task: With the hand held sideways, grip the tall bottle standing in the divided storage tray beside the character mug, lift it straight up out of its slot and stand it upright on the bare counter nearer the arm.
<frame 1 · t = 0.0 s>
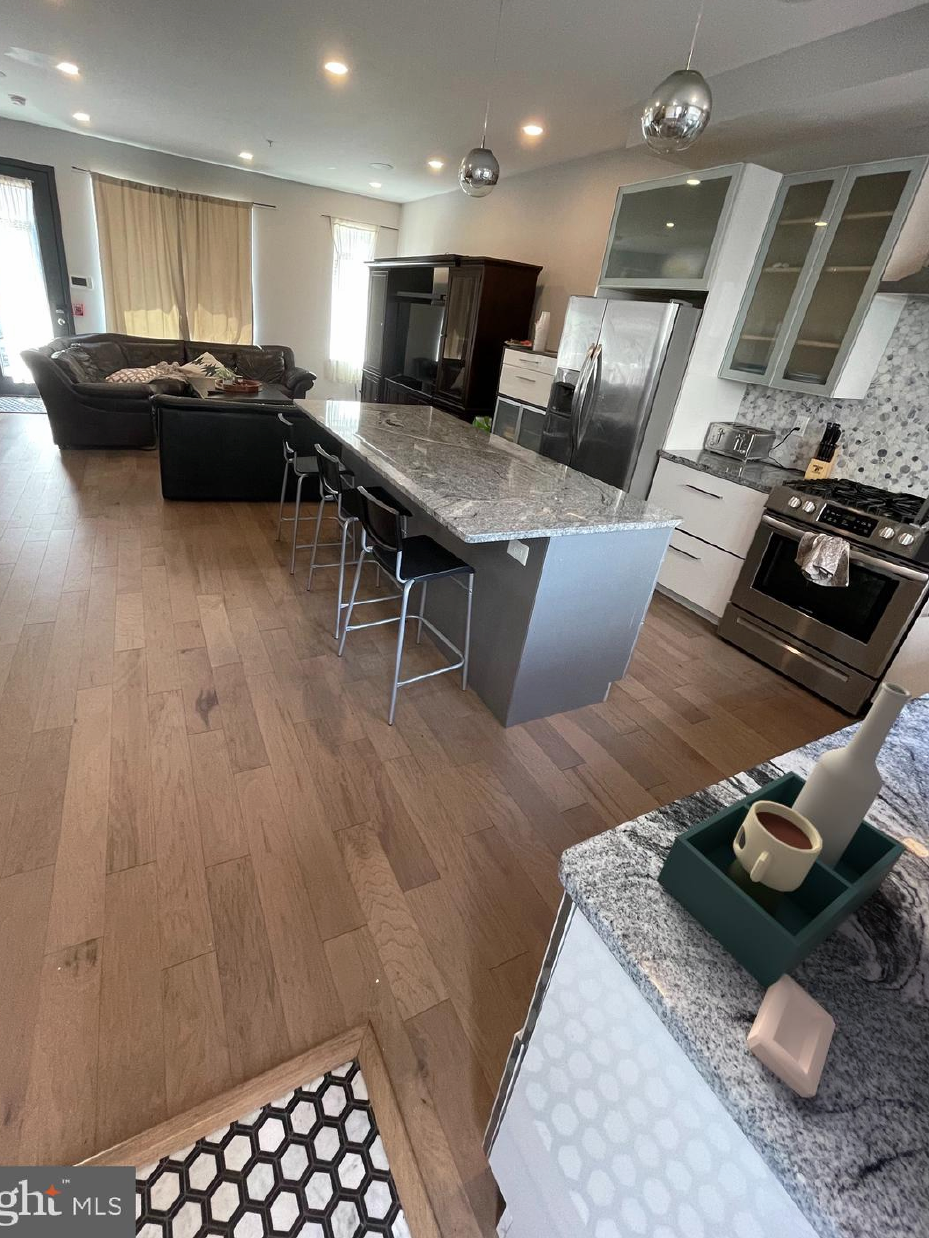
divided storage tray: (770, 884, 70), on the counter
character mug: (742, 904, 66), resting on divided storage tray
soap bar: (782, 1037, 54), on the counter, touching divided storage tray
bottle: (797, 863, 73), resting on divided storage tray
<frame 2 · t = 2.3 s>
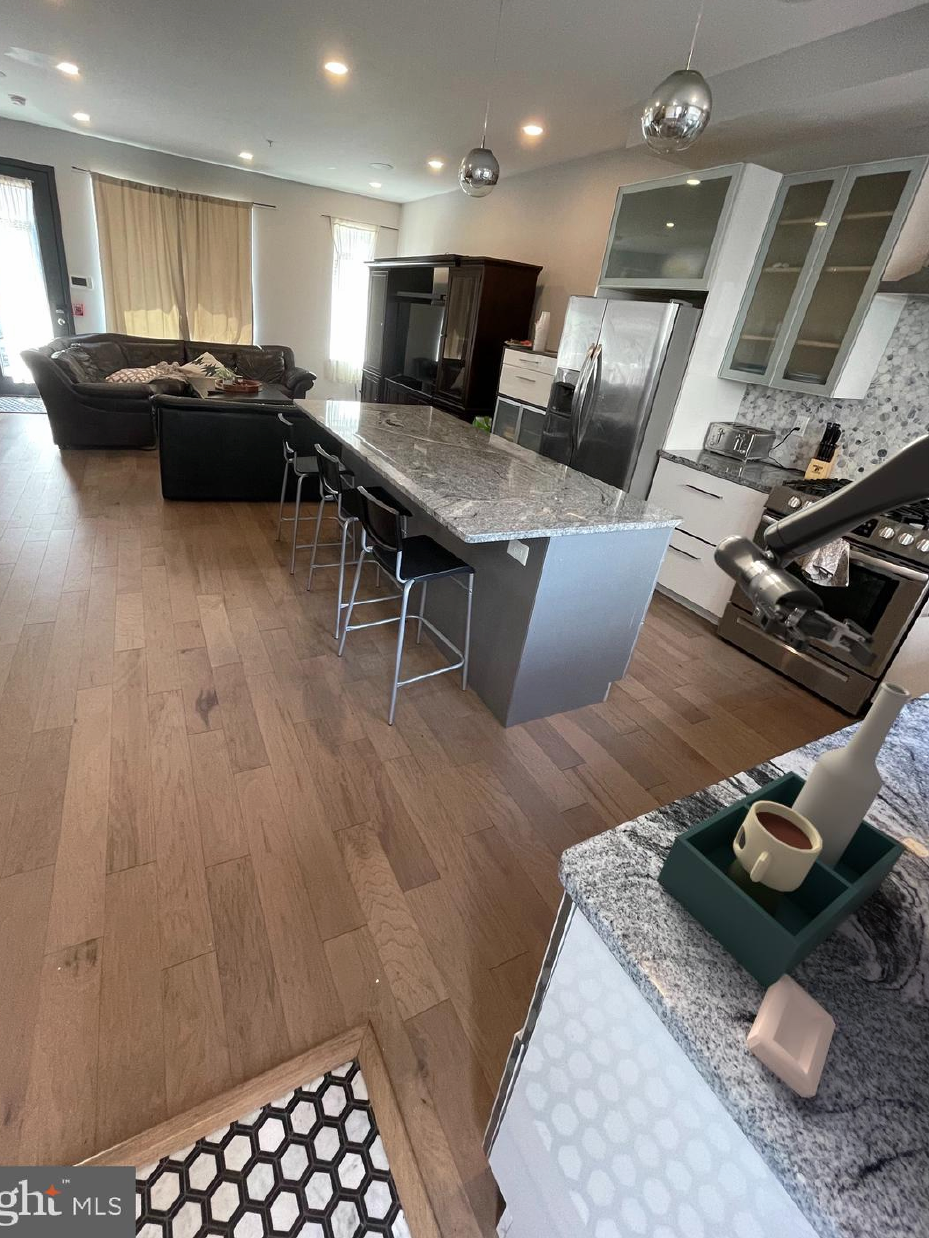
hand: (838, 654, 73), 26 cm above the counter, tool horizontal, fingers open, 8 cm apart
nothing on the counter moved.
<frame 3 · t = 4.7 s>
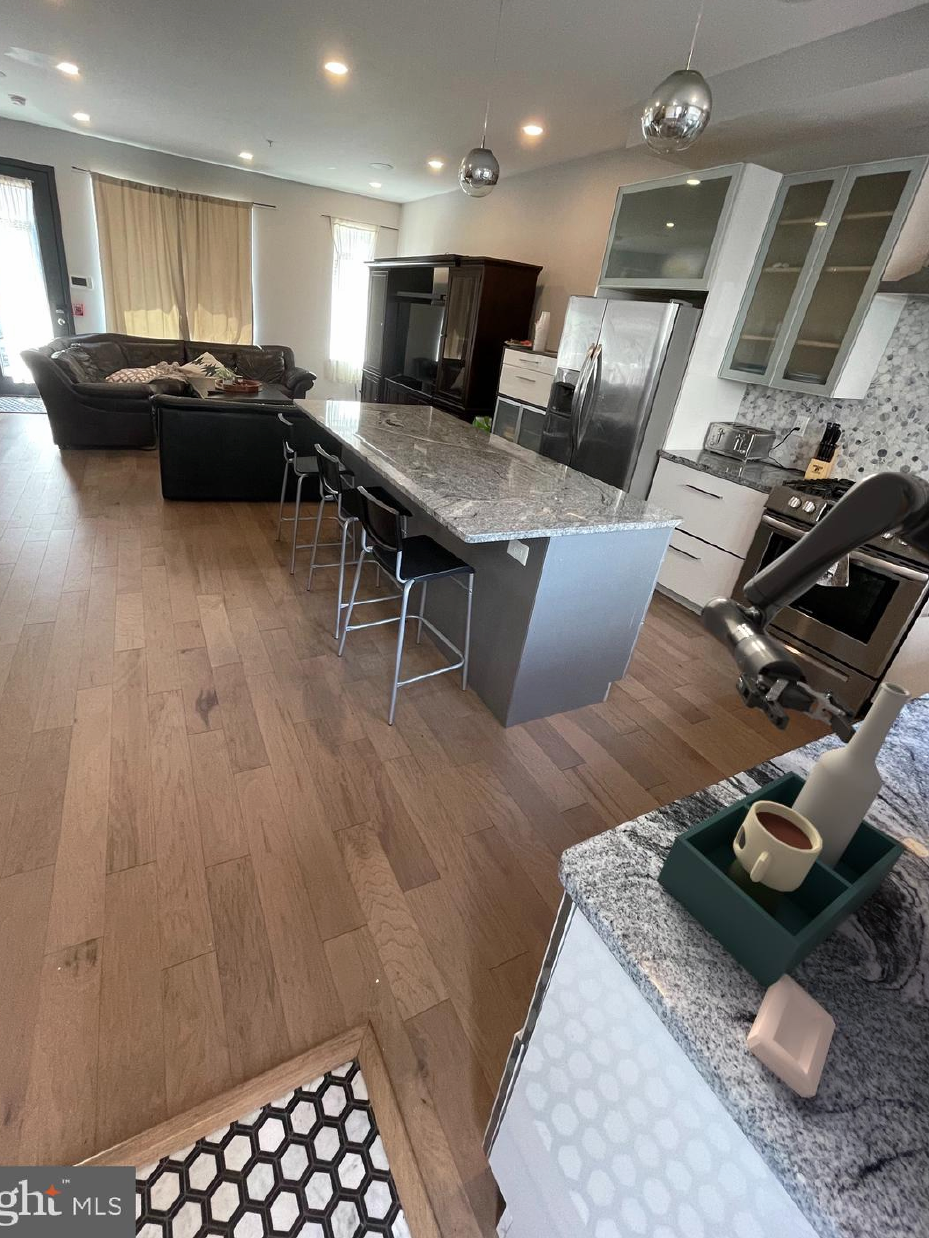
hand: (817, 731, 74), 16 cm above the counter, tool horizontal, fingers open, 8 cm apart
nothing on the counter moved.
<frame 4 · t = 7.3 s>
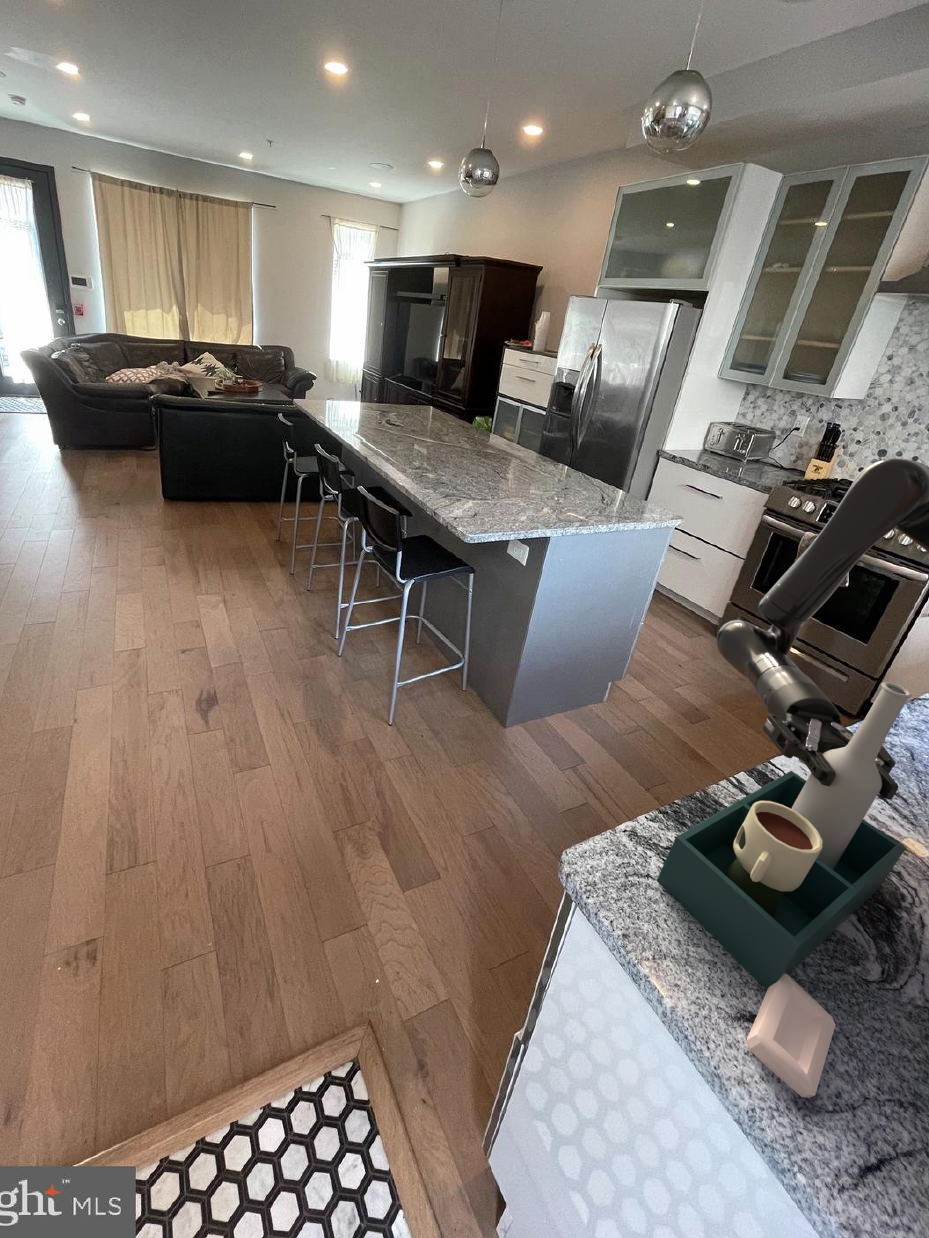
hand: (860, 786, 65), 16 cm above the counter, tool horizontal, fingers closed on bottle, 6 cm apart
bottle: (797, 863, 73), resting on divided storage tray, touching gripper
everything else where it was.
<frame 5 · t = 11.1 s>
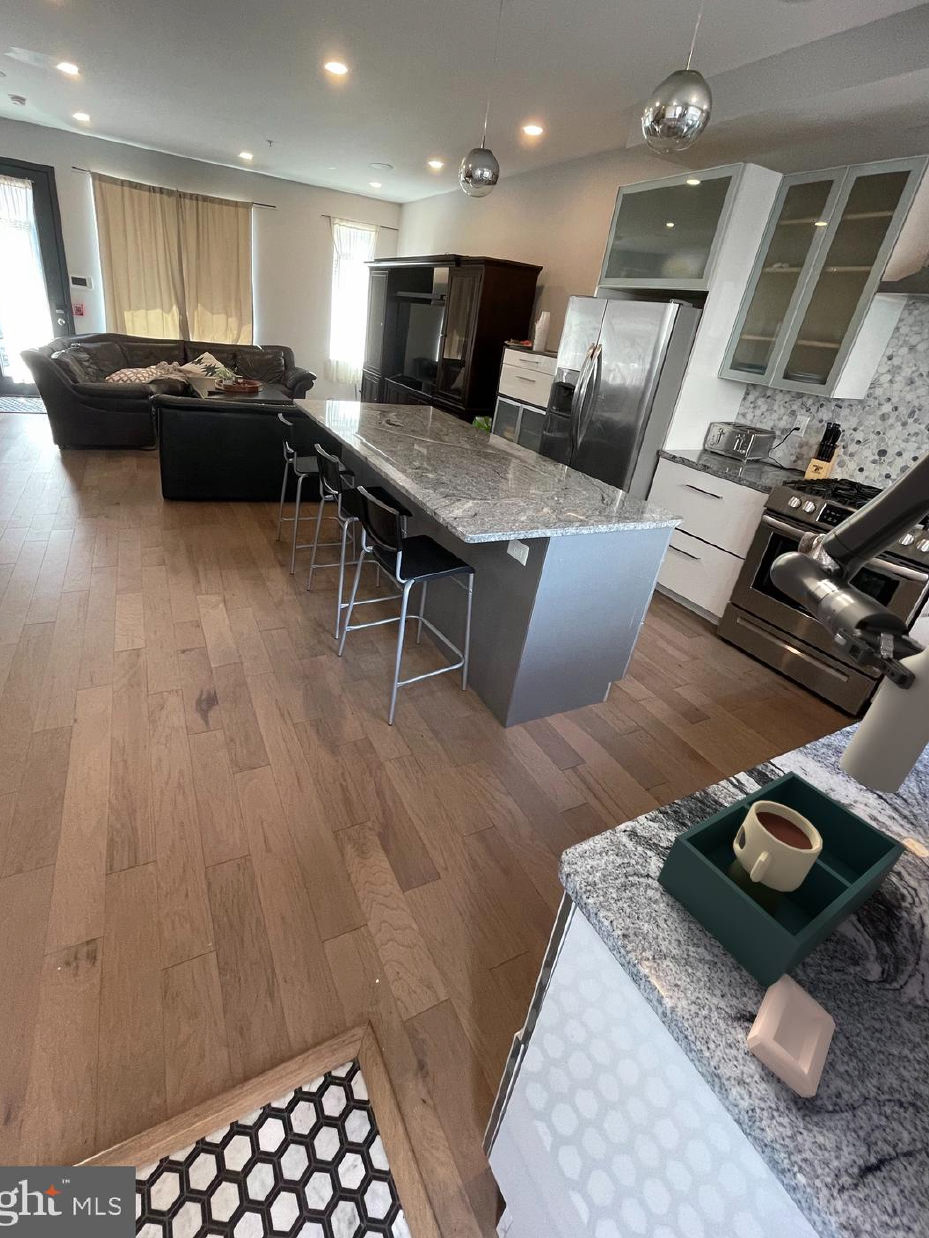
bottle: (867, 775, 74), point 12 cm above the counter, touching gripper
everything else where it was.
when the fingers open (16 cm above the counter, at t = 14.8 s): bottle stays where it is, on the counter.
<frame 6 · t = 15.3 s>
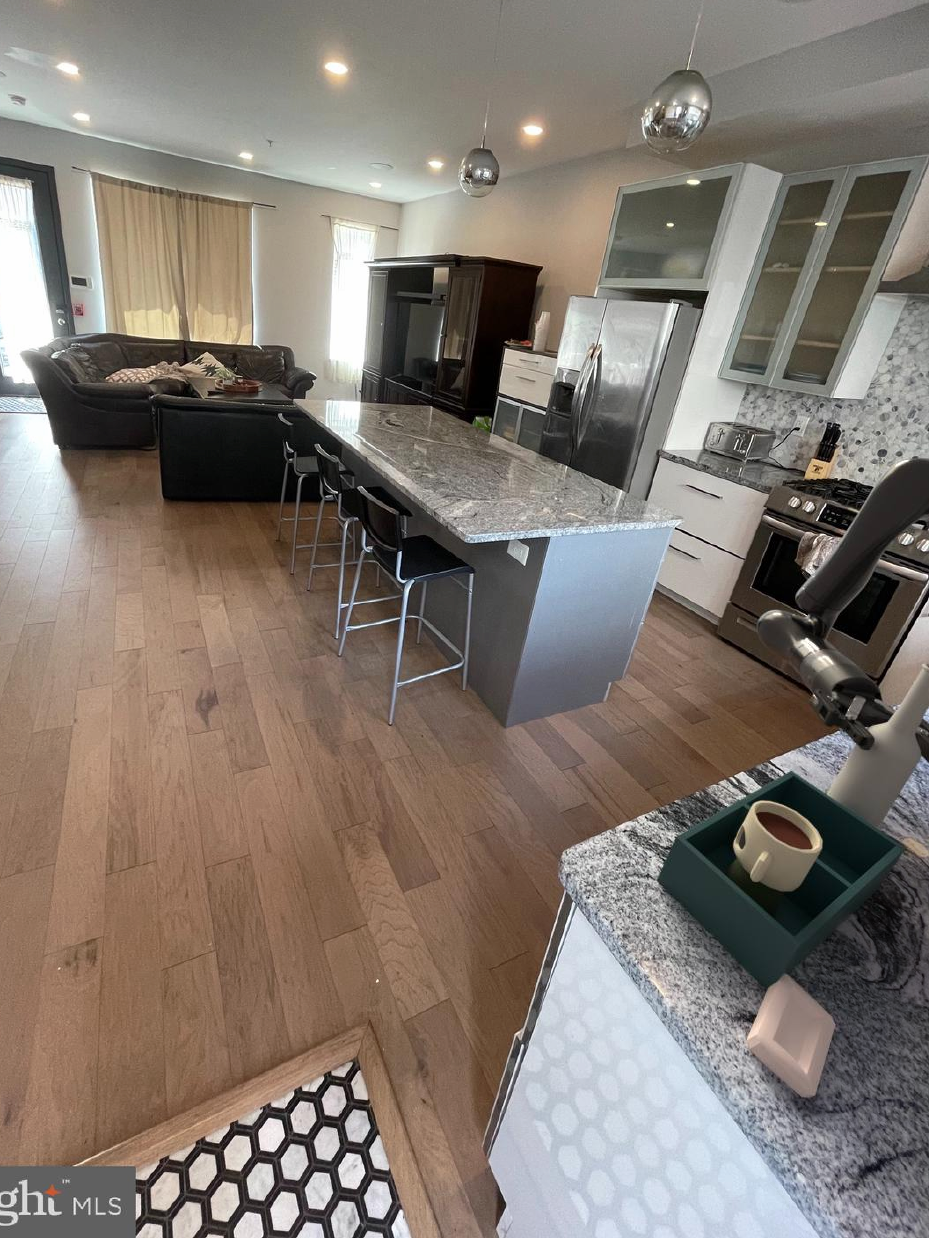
hand: (903, 752, 72), 16 cm above the counter, tool horizontal, fingers open, 8 cm apart
bottle: (839, 830, 81), on the counter
everything else where it was.
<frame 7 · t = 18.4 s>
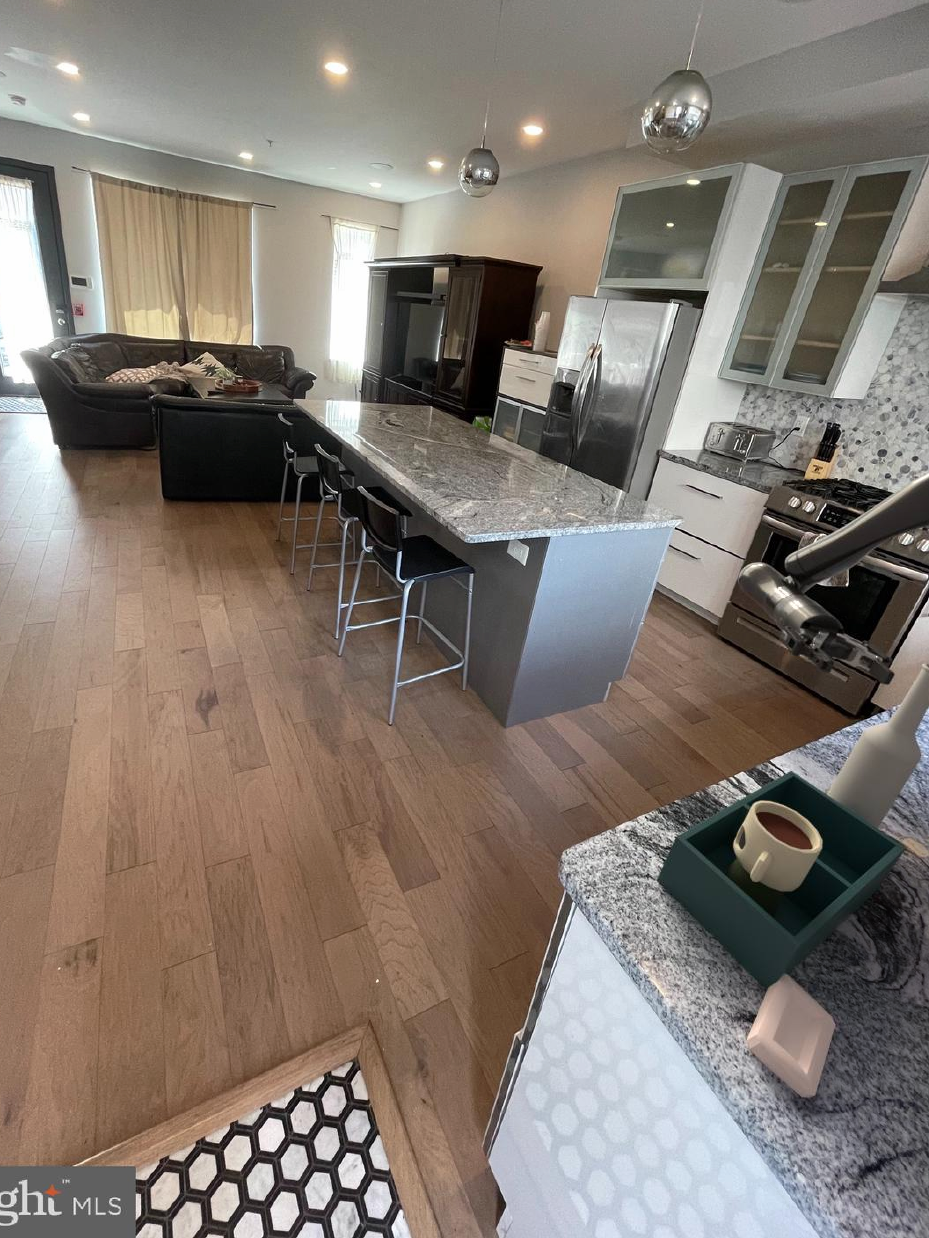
hand: (859, 673, 83), 20 cm above the counter, tool horizontal, fingers open, 8 cm apart
nothing on the counter moved.
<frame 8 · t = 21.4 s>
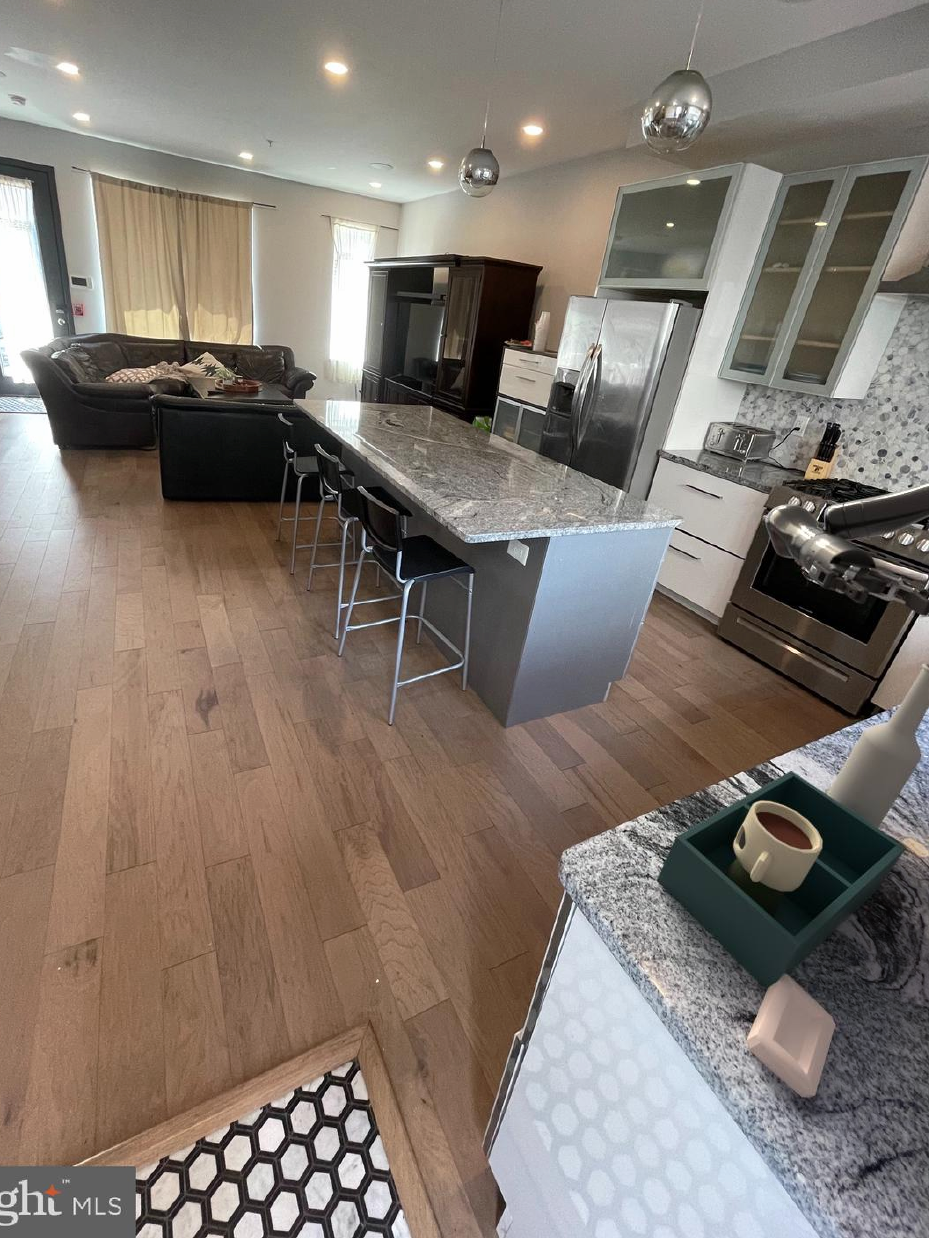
hand: (896, 603, 78), 32 cm above the counter, tool horizontal, fingers open, 8 cm apart
nothing on the counter moved.
at the end: bottle inside the target area (0.2 cm from its centre), on the counter; bottle tilted 0°; character mug moved 0.2 cm from its start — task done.
